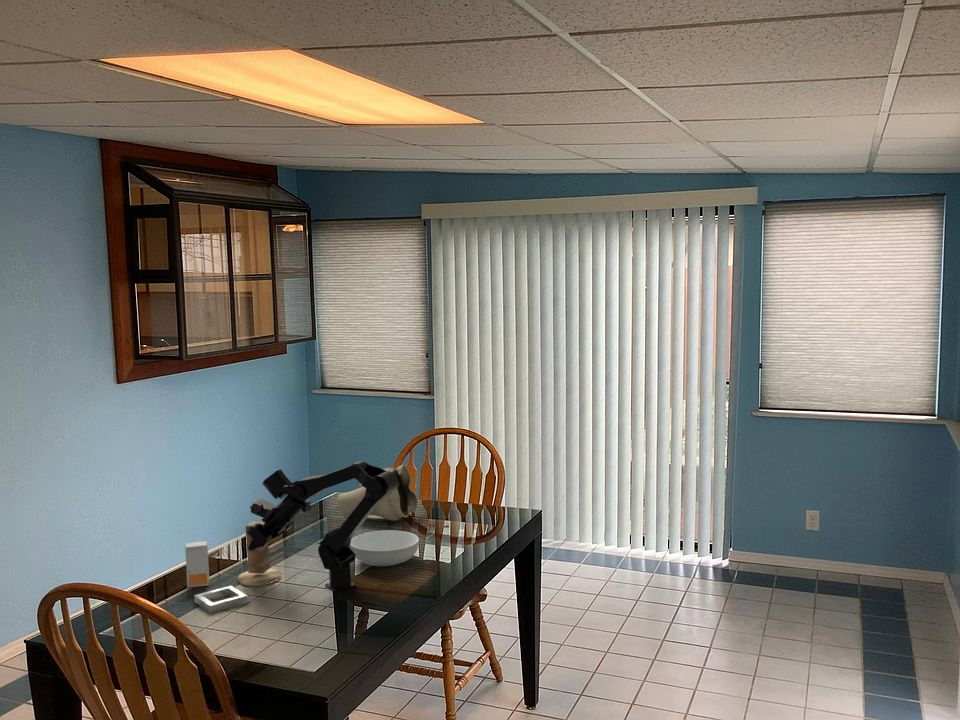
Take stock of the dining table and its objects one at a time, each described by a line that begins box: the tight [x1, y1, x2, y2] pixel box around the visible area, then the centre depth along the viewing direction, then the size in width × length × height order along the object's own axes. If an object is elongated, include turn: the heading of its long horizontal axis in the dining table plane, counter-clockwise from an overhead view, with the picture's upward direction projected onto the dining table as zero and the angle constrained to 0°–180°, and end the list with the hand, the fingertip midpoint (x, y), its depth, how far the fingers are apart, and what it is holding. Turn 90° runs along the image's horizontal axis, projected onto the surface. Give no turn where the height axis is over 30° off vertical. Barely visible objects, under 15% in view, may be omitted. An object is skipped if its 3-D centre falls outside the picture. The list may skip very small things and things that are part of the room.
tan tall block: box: [245, 520, 271, 574], centre depth 258 cm, size 4×4×14 cm
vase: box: [337, 464, 418, 522], centre depth 317 cm, size 23×23×30 cm
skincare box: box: [184, 540, 210, 588], centre depth 255 cm, size 6×4×12 cm
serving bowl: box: [349, 529, 420, 567], centre depth 271 cm, size 21×21×7 cm
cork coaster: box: [237, 568, 281, 587], centre depth 259 cm, size 12×12×1 cm
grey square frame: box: [193, 585, 249, 614], centre depth 241 cm, size 10×10×2 cm
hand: (253, 546), depth 258 cm, fingers closed on tan tall block, 4 cm apart
